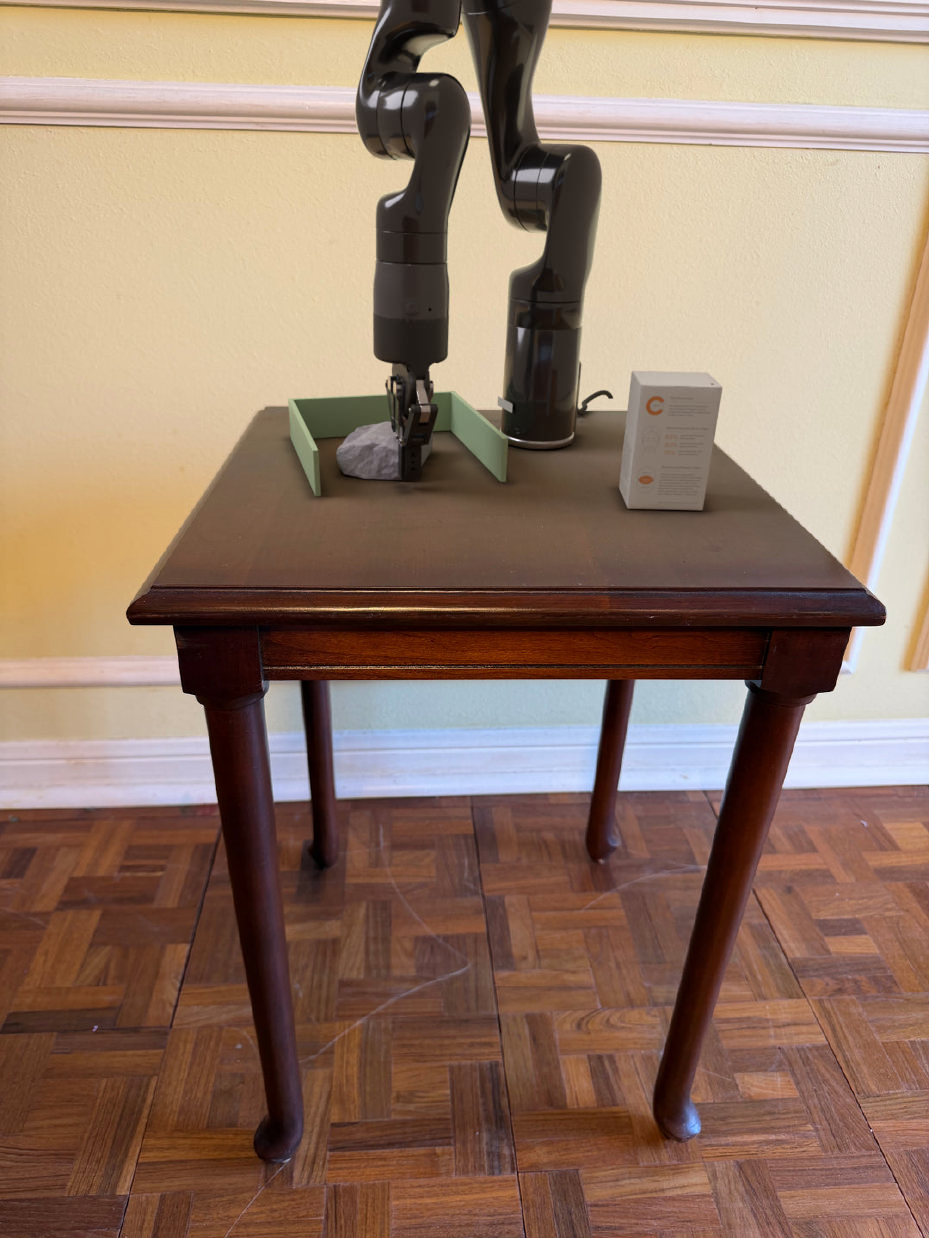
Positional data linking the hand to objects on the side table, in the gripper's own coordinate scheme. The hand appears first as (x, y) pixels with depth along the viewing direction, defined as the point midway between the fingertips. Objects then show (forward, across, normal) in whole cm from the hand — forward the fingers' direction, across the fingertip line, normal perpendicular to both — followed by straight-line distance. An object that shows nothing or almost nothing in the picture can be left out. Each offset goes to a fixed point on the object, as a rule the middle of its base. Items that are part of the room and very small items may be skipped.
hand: (409, 478), depth 95 cm
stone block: (+1, +9, +1) cm, 9 cm away
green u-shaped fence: (+1, +10, 0) cm, 10 cm away
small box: (+1, -9, -25) cm, 27 cm away
